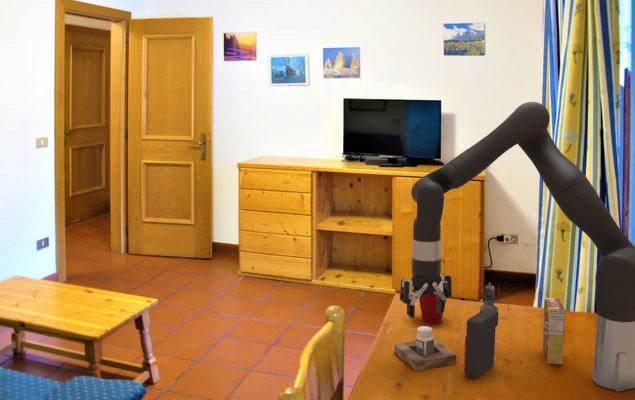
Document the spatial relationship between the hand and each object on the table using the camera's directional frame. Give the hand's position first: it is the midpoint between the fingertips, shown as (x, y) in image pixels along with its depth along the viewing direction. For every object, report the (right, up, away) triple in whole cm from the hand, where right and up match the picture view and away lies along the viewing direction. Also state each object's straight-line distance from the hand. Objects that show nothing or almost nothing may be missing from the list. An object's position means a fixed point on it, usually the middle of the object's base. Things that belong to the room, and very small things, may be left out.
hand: (425, 315), depth 168 cm
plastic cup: (+7, -7, +29) cm, 31 cm away
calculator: (+13, -14, -5) cm, 19 cm away
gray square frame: (0, -12, +3) cm, 12 cm away
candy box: (+34, -12, +2) cm, 36 cm away
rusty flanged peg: (+25, -7, +30) cm, 40 cm away
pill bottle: (0, -12, +3) cm, 13 cm away
